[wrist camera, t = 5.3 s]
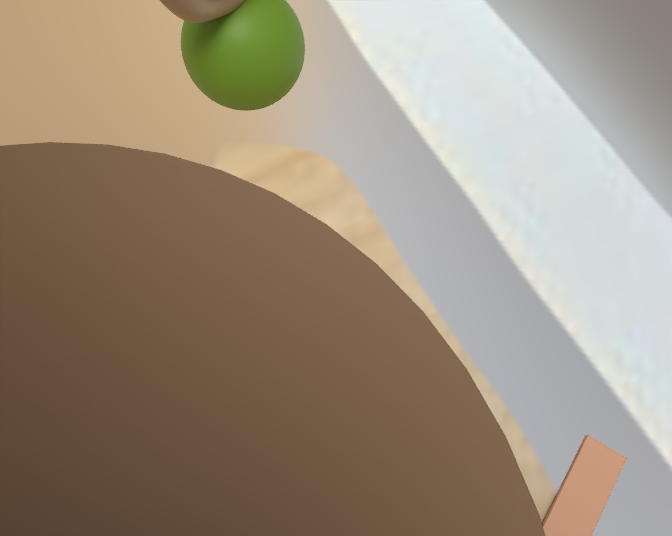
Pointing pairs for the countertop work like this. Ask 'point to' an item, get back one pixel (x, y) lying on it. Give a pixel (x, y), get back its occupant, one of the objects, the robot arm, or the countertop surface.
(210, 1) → the snail figurine
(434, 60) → the countertop surface
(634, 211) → the countertop surface
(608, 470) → the terracotta line strip
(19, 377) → the smooth brown cylinder
